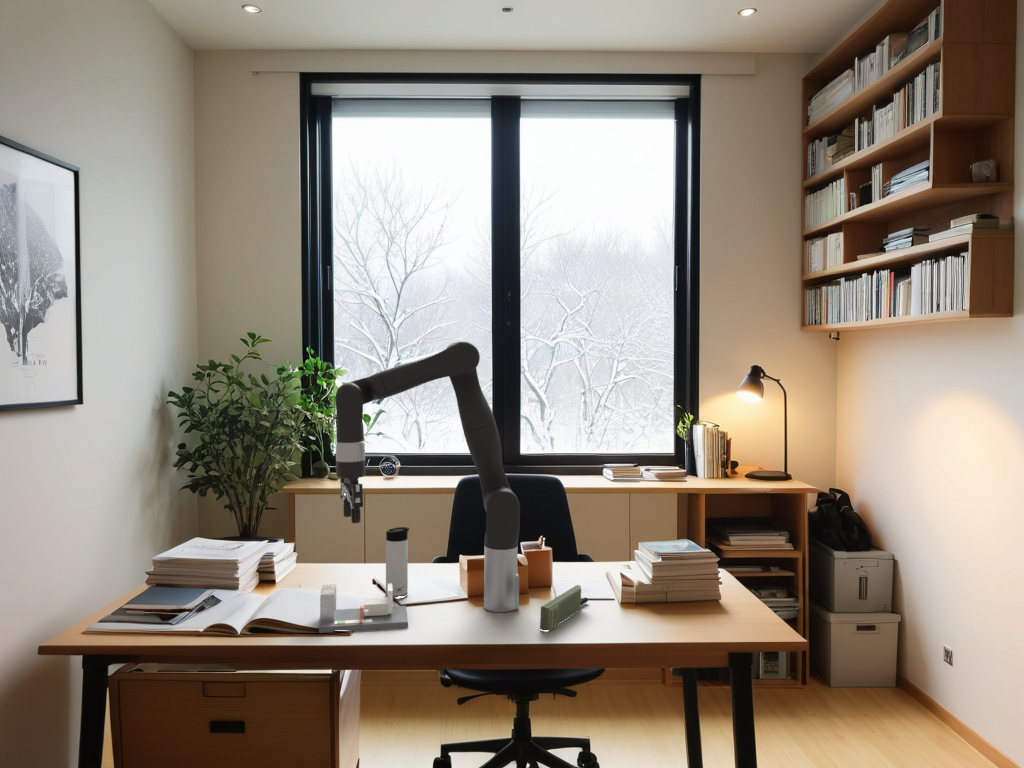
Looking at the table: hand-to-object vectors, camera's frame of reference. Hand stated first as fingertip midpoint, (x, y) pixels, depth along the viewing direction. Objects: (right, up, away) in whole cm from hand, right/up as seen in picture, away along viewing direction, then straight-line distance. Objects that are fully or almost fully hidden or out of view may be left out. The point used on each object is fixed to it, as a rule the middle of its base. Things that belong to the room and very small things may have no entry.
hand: (351, 519), depth 185 cm
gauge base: (+4, -26, -2) cm, 27 cm away
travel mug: (+9, -26, +18) cm, 33 cm away
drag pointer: (+4, -25, -6) cm, 26 cm away
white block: (+7, -24, -1) cm, 26 cm away
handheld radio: (+57, -27, +3) cm, 63 cm away
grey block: (-5, -25, -3) cm, 25 cm away
